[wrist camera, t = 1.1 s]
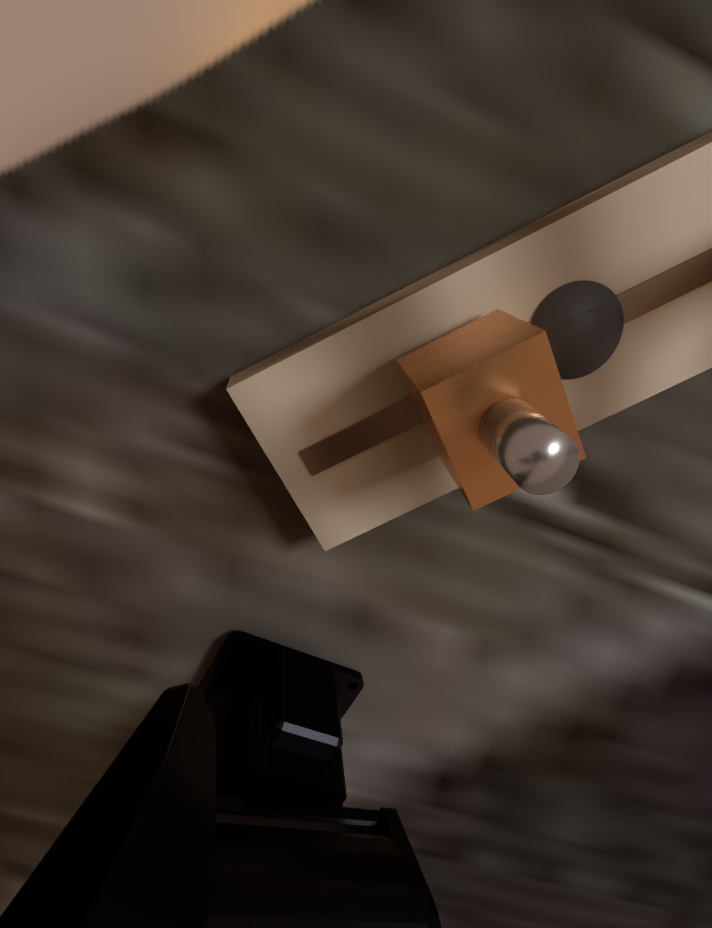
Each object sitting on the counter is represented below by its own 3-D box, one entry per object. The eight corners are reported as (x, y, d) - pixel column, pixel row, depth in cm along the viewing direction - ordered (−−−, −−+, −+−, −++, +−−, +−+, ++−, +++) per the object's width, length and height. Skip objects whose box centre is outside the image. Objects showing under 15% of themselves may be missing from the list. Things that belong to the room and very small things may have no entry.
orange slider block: (442, 461, 19) (504, 559, 14) (395, 359, 18) (446, 425, 12) (535, 416, 19) (636, 498, 14) (497, 308, 17) (595, 353, 12)
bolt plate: (322, 530, 22) (342, 685, 15) (229, 376, 19) (197, 476, 12) (835, 285, 21) (1137, 325, 13) (819, 75, 18) (1194, -19, 10)
